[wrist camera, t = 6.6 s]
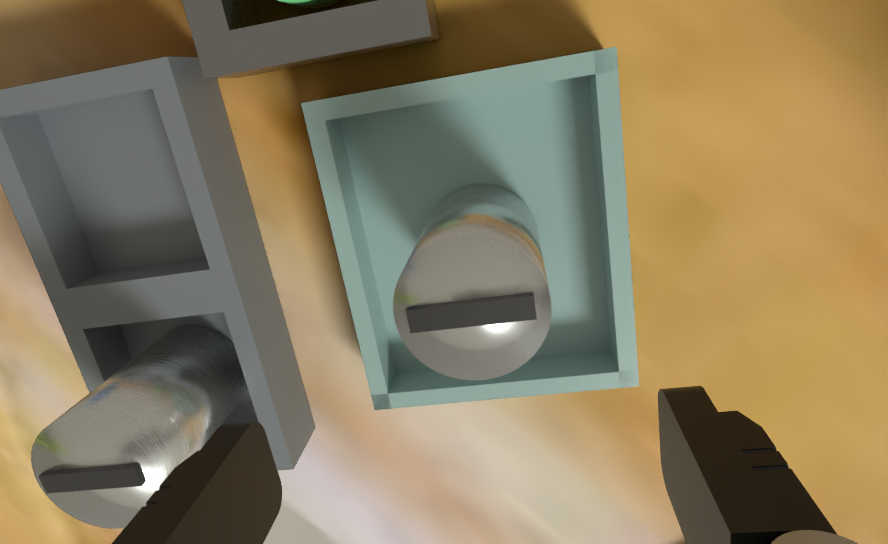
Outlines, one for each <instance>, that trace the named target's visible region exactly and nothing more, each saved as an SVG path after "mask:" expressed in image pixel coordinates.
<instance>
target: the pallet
mask: <svg viewBox="0 0 888 544" xmlns="http://www.w3.org/2000/svg"><path fill="white" fill-rule="evenodd" d="M0 182H1V184H2V187H3V189H4V192H5V194H6V196H7V199H8V201H9V203H10V206H11V208H12V210H13V213H14V215H15V218H16V220H17V222H18V225H19V227H20V229H21V232H22V234H23V236H24V239H25V241H26V244H27V246H28V248H29V251H30V253H31V255H32V258H33V260H34V263H35V265H36V267H37V270H38V272H39V274H40V277H41V279H42V281H43V284H44V286H45V289H46V291H47V293H48V296H49V298H50V300H51V303H52V305H53V307H54V310H55V312H56V315H57V317H58V319H59V322H60V324H61V326H62V329H63V331H64V334H65V336H66V338H67V341H68V343H69V345H70V348H71V350H72V352H73V355H74V357H75V360H76V362H77V364H78V367H79V369H80V371H81V374H82V376H83V378H84V381H85V383H86V386H87V388H88V390H89V393H91V392H92V391H93V390H94V389H96V388H97V387H98V386H99V385H101V384H102V383H103V382H105V381H106V380H107V379H108V378H110V377H111V376H112V375H114V374H115V373H116V372H117V371H119V370H120V369H121V368H122V367H124V366H125V365H126V364H128V363H129V362H130V361H131V360H133V359H134V358H135V357H136V356H138V355H139V354H140V353H142V352H143V351H144V350H145V349H147V348H148V347H149V346H150V345H152V344H153V343H154V342H156V341H157V340H158V339H159V338H161V337H162V336H163V335H164V334H166V333H167V332H168V331H170V330H172V329H174V328H176V327H179V326H183V325H201V326H205V327H209V328H212V329H214V330H216V331H218V332H220V333H222V334H223V335H225V336H226V337H228V338H229V339H230V340H231V341H232V342H233V343H234V346H235V349H236V353H237V356H238V359H239V362H240V365H241V368H242V371H243V375H244V378H245V381H246V384H247V387H248V388H247V391H246V393H245V395H244V397H243V398H242V399H241V400H240V402H239V403H238V404H237V405H236V407H235V408H234V409H233V410H232V412H231V413H230V414H229V416H228V417H227V418H226V419H225V421H224V422H223V423H222V424H221V425H224V424H235V423H247V422H259V423H260V424H261V425H262V426H263V428H264V430H265V432H266V435H267V439H268V442H269V445H270V448H271V452H272V455H273V458H274V461H275V465H276V468H277V470H289V469H294V467H295V465H296V463H297V461H298V460H299V458H300V456H301V454H302V452H303V450H304V448H305V446H306V444H307V443H308V441H309V439H310V437H311V435H312V433H313V431H314V429H315V424H314V421H313V417H312V414H311V410H310V407H309V403H308V400H307V396H306V392H305V389H304V385H303V382H302V378H301V375H300V371H299V368H298V364H297V361H296V357H295V354H294V350H293V347H292V343H291V339H290V336H289V332H288V329H287V325H286V322H285V318H284V315H283V311H282V308H281V304H280V301H279V297H278V293H277V290H276V286H275V283H274V279H273V276H272V272H271V269H270V265H269V262H268V258H267V255H266V251H265V248H264V244H263V240H262V237H261V233H260V230H259V226H258V223H257V219H256V216H255V212H254V209H253V205H252V202H251V198H250V194H249V191H248V187H247V184H246V180H245V177H244V173H243V170H242V166H241V163H240V159H239V156H238V152H237V148H236V145H235V141H234V138H233V134H232V131H231V127H230V124H229V120H228V117H227V113H226V110H225V106H224V103H223V99H222V95H221V92H220V88H219V85H218V81H217V79H205V78H204V75H203V72H202V68H201V65H200V61H199V58H198V57H171V56H167V57H162V58H157V59H152V60H147V61H142V62H137V63H132V64H127V65H122V66H117V67H112V68H107V69H102V70H97V71H92V72H87V73H82V74H77V75H72V76H67V77H62V78H57V79H52V80H47V81H42V82H37V83H32V84H27V85H22V86H17V87H12V88H7V89H2V90H0Z"/></svg>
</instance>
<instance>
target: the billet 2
mask: <svg viewBox="0 0 888 544" xmlns="http://www.w3.org/2000/svg"><path fill="white" fill-rule="evenodd" d="M393 313H394V320H395V324H396V327H397V330H398V332H399V334H400V337H401V339H402V340H403V342H404V344H405V345H406V347H407V348H408V349H409V350H410V352H411V353H412V354H413V355H414V356H415V357H416V358H417V359H418V360H419V361H421V362H422V363H423V364H425V365H426V366H427V367H429V368H431V369H432V370H434V371H436V372H438V373H441V374H443V375H446V376H449V377H452V378H456V379H461V380H472V381H474V380H487V379H493V378H497V377H500V376H503V375H506V374H508V373H510V372H512V371H514V370H516V369H518V368H519V367H521V366H522V365H523V364H525V363H526V362H527V361H528V360H529V359H530V358H531V357H533V356H534V354H535V353H536V352H537V351H538V349H539V348H540V347H541V345H542V343H543V341H544V340H545V337H546V335H547V332H548V330H549V326H550V322H551V313H552V309H551V298H550V293H549V288H548V282H547V277H546V272H545V267H544V261H543V256H542V251H541V246H540V240H539V235H538V230H537V225H536V221H535V218H534V216H533V214H532V212H531V210H530V209H529V207H528V206H527V205H526V203H525V202H524V201H523V200H522V199H521V198H520V197H518V196H517V195H516V194H515V193H513V192H511V191H510V190H508V189H506V188H503V187H501V186H497V185H493V184H486V183H477V184H470V185H466V186H463V187H460V188H458V189H456V190H454V191H452V192H450V193H449V194H448V195H446V196H445V197H444V198H443V199H442V200H441V201H440V202H439V203H438V204H437V205H436V207H435V208H434V210H433V212H432V213H431V215H430V217H429V219H428V221H427V223H426V225H425V227H424V229H423V231H422V233H421V235H420V237H419V239H418V241H417V243H416V245H415V247H414V249H413V251H412V253H411V255H410V257H409V259H408V261H407V263H406V265H405V267H404V269H403V271H402V273H401V275H400V277H399V279H398V281H397V284H396V288H395V291H394V298H393Z"/></svg>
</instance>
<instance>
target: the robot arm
mask: <svg viewBox="0 0 888 544" xmlns="http://www.w3.org/2000/svg"><path fill="white" fill-rule="evenodd" d="M658 411H659V432H660V452H661V465H662V471H663V477H664V481H665V486H666V489H667V492H668V495H669V498H670V501H671V503H672V506H673V509H674V511H675V514H676V517H677V519H678V522H679V525H680V527H681V530H682V533H683V535H684V538H685V541H686V543H687V544H858V543H856V542H854V541H852V540H849V539H847V538H845V537H842V536H839V535H837V533H836V532H835V531H834V529H833V528H832V526H831V525H830V524H829V522H828V521H827V519H826V518H825V516H824V515H823V514H822V512H821V511H820V509H819V508H818V506H817V505H816V504H815V502H814V501H813V499H812V498H811V496H810V495H809V494H808V492H807V491H806V489H805V488H804V487H803V485H802V484H801V482H800V481H799V479H798V478H797V477H796V475H795V474H794V472H793V471H792V469H789V468H788V464H787V462H786V461H785V460H784V458H783V457H782V455H781V454H780V452H779V451H777V450H776V447H775V445H774V444H773V442H772V441H771V440H770V438H769V437H768V435H767V434H766V432H765V431H764V430H763V428H762V427H761V426H759V425H758V424H756V423H755V422H753V421H752V420H750V419H749V418H747V417H746V416H744V415H743V414H741V413H740V412H738V411H728V412H718V411H717V410H716V408H715V406H714V405H713V403H712V401H711V400H710V398H709V396H708V395H707V393H706V392H705V390H704V388H703V387H702V386H693V387H681V388H669V389H660V390H659V392H658ZM281 501H282V486H281V481H280V478H279V474H278V471H277V468H276V465H275V461H274V458H273V455H272V452H271V448H270V445H269V442H268V439H267V435H266V432H265V430H264V428H263V426H262V425H261V424H260V423H259V422H247V423H235V424H224V425H221V426H220V427H218V428H217V430H216V431H215V432H214V433H213V435H212V436H211V437H210V438H209V440H208V441H207V442H206V443H205V445H204V446H203V447H202V448H201V450H200V451H196V452H195V453H194V454H192V455H191V456H190V457H188V458H187V459H186V460H184V461H183V462H182V463H180V464H179V465H178V466H176V467H175V468H174V469H173V471H172V472H171V473H170V474H169V475H168V477H167V478H166V479H165V480H164V481H163V483H162V484H161V485H160V486H159V490H156V491H155V492H154V493H153V495H152V496H151V497H150V498H149V499H148V501H147V502H146V506H144V507H142V508H141V509H140V510H139V511H138V513H137V514H136V515H135V516H134V517H133V519H132V520H131V521H130V522H129V524H128V525H127V526H126V527H125V528H124V530H123V531H122V532H121V533H120V534H119V536H118V537H117V538H116V539H115V540H114V542H113V543H112V544H263V542H264V540H265V538H266V536H267V535H268V533H269V531H270V529H271V527H272V525H273V523H274V521H275V519H276V517H277V515H278V513H279V510H280V506H281Z"/></svg>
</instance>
